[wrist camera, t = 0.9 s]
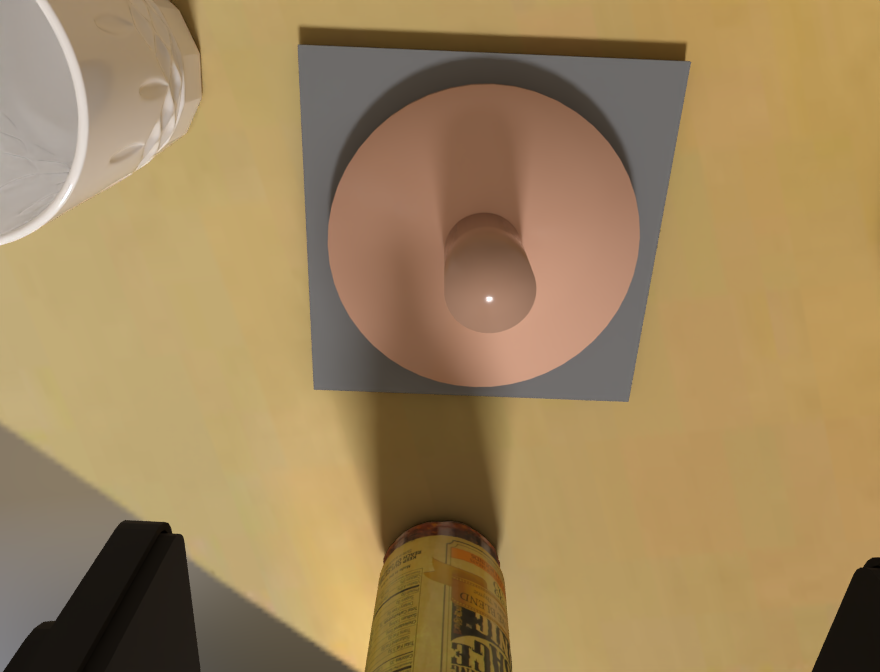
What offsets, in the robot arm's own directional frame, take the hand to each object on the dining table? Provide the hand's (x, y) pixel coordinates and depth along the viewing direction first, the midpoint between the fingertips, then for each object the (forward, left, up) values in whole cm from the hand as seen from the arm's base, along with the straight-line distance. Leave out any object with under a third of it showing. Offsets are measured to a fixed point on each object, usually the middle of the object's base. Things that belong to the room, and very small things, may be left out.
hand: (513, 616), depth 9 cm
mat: (0, 0, -19) cm, 19 cm away
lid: (0, 0, -19) cm, 19 cm away
